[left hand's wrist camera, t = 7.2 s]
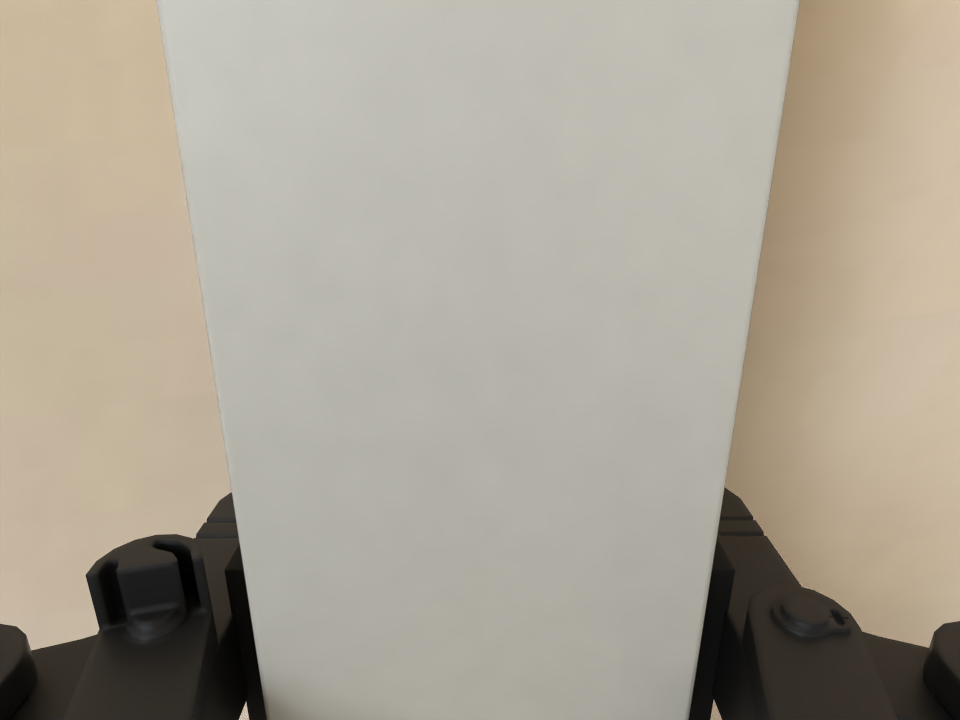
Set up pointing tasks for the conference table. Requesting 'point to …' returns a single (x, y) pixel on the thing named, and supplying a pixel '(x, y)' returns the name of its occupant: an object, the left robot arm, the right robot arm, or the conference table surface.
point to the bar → (477, 334)
